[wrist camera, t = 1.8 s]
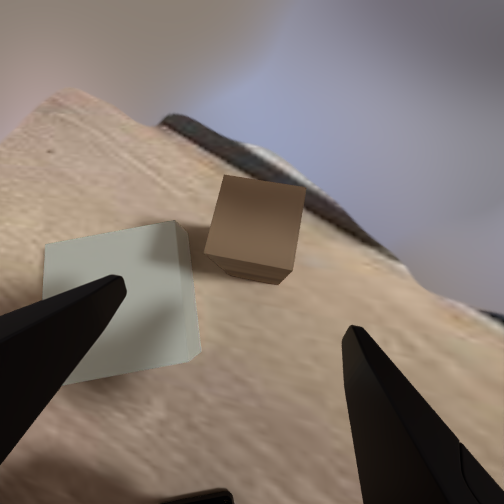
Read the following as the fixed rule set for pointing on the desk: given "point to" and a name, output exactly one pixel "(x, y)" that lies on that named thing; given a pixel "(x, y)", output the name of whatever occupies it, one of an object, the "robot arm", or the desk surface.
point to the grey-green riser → (132, 297)
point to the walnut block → (255, 228)
